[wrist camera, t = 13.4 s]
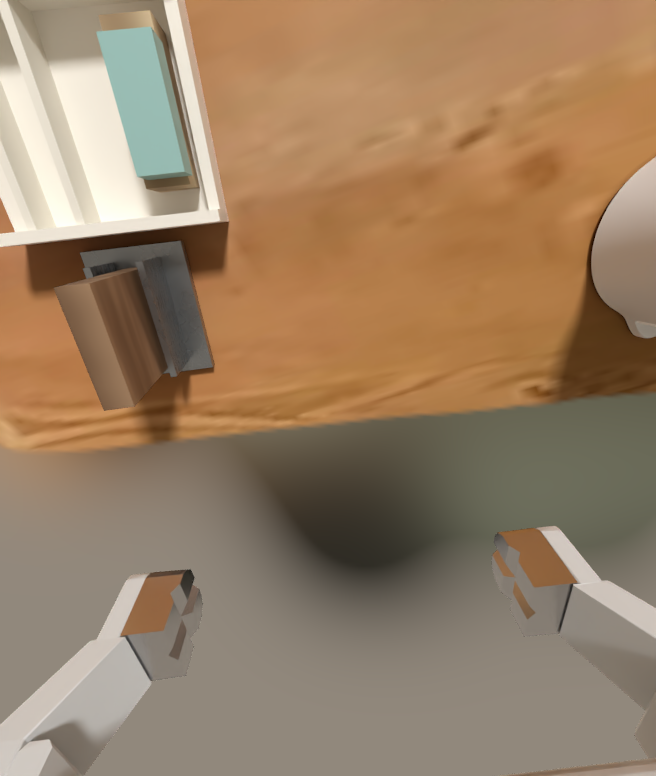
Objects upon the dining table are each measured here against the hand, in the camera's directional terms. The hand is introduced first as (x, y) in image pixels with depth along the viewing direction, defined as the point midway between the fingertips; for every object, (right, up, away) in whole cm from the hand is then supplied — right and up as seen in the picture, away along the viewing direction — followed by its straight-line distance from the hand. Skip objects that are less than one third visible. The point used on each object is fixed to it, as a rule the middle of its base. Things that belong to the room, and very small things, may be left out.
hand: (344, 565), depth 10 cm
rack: (-17, +24, +17) cm, 34 cm away
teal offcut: (-12, +22, +14) cm, 29 cm away
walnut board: (-16, +11, +22) cm, 29 cm away
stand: (-16, +12, +22) cm, 30 cm away
